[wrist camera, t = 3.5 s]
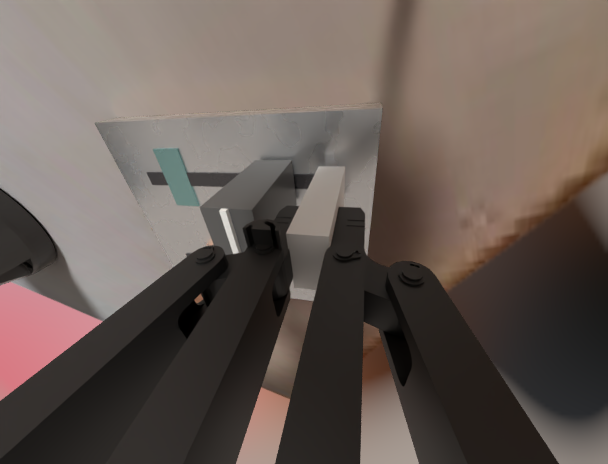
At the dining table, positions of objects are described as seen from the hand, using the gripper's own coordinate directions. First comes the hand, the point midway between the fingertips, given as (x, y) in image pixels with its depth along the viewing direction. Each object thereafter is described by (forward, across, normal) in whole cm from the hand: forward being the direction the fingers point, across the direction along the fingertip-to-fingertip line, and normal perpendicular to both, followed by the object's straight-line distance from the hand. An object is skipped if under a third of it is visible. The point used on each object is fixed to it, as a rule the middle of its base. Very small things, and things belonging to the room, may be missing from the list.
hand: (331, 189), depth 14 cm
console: (+3, -7, -4) cm, 9 cm away
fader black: (+1, -4, 0) cm, 4 cm away
